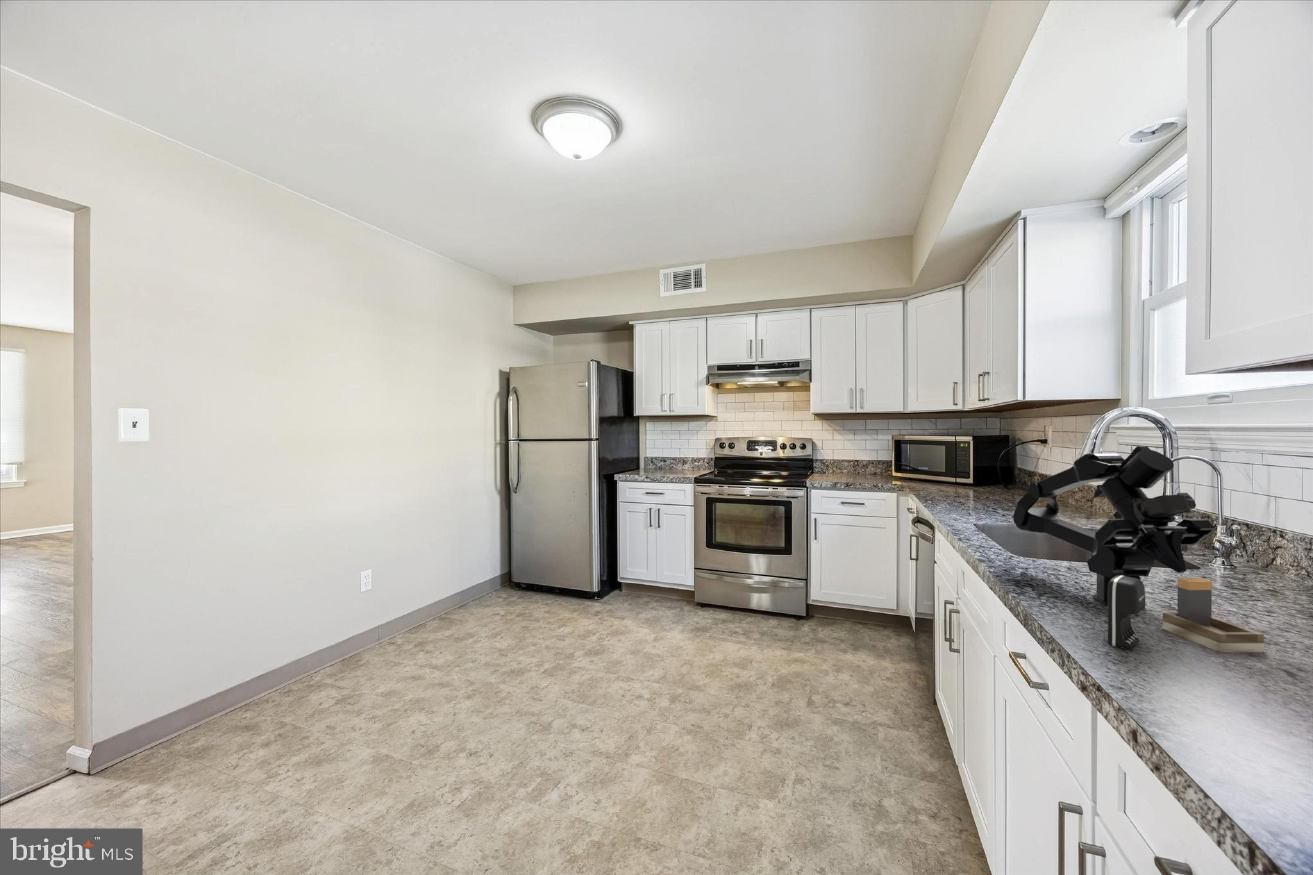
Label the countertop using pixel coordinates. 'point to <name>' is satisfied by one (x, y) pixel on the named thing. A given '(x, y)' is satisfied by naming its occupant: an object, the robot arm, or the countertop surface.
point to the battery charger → (1124, 610)
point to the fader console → (1215, 634)
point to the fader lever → (1195, 600)
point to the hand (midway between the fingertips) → (1182, 571)
